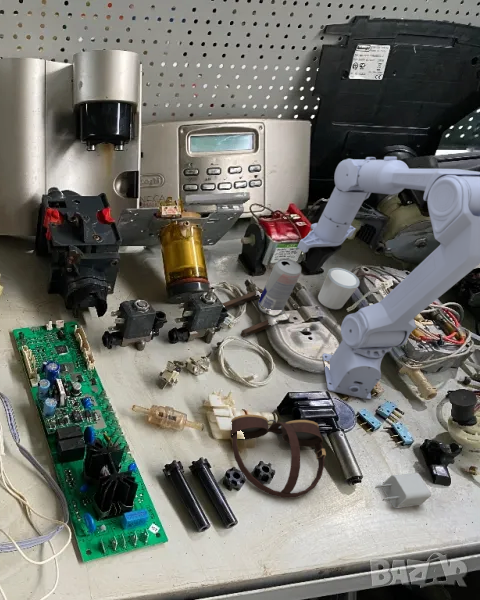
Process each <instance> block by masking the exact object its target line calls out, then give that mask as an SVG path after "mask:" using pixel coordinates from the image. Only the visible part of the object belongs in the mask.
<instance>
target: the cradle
mask: <svg viewBox="0 0 480 600" xmlns="http://www.w3.org/2000/svg"><path fill="white" fill-rule="evenodd" d="M257 290H258V291H259V292H260V293H262V292H263V290H264V289H262V288H259V289H257ZM255 295H256V290H254V291H251V292H248V293H245V294H244V295H241V296H239V297H236V298H233V299H230V300H228V301H225V302H222V303H221V304H223V305H224V306H225V308H226V310H225V311H228V310H230V309H233V308H235V307H238V306H241V305H243V304H245V303H249V302H250V301H254V300H256V299H260V297H259V295H257V296H255ZM261 295H262V294H261ZM283 322H284V321H279V323H278V324H280V323H283ZM268 324H269V323H268V319H266V320H263V321H261V322H259V323H256V324H254V325H251V326H248V327H247V328H244V329H242V330H241V333H240V336H241V338H243V339H244V338H247V337H249V336H252V335H254V334H256V333H259V332H262V331H263V330H266V329H269V328H270V327H272V326H271V325H268Z"/></svg>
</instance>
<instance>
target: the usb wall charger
mask: <svg viewBox="0 0 480 600" xmlns="http://www.w3.org/2000/svg"><path fill="white" fill-rule="evenodd" d="M374 489H382V491H384V494H385V495H386V497H383V498H382V500H381V501H383V502H384V501H385V502H386V501H389V502H390V504H391V506H392V507H394V508H395V509H397V508H406V507H415V506H421V505H422V504H424V503H425V502H426V501H427V500H428V499H430V497H431V496H432V492H431V490H430V489H429V487H428V486H427V483H426V482H425V481H424V480H423V477H422V476H421V474H419V472H410V473H409V472H408V473H401V474H392V475H389V477H388V478H387V479H386V480H385V481H384V482H383V483H382V484H378V485H376V486H375V488H374Z"/></svg>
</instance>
